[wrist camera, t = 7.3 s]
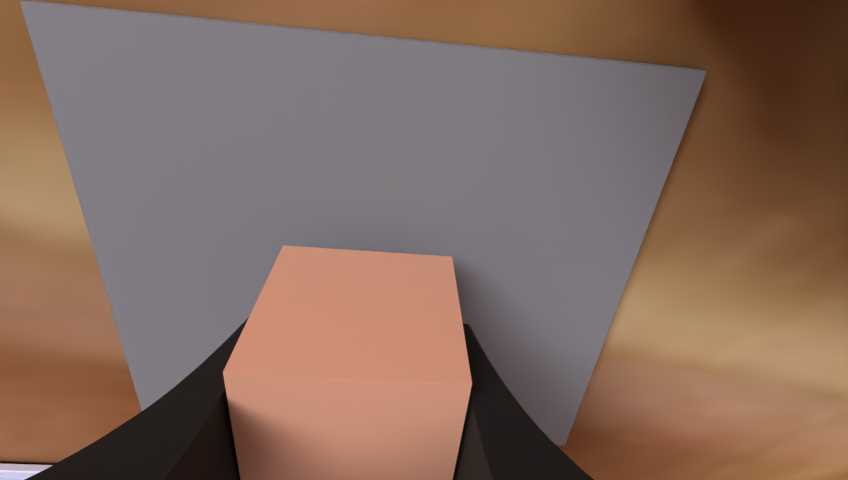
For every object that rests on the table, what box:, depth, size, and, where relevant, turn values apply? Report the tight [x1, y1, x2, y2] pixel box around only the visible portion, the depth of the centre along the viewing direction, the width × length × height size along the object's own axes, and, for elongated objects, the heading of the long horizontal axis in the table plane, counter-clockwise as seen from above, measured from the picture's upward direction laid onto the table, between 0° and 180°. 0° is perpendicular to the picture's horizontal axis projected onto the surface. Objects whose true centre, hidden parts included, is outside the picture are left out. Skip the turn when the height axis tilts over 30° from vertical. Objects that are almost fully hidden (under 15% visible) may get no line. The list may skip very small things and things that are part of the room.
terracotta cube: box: [223, 245, 472, 480], centre depth 13 cm, size 5×5×5 cm
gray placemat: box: [20, 1, 707, 445], centre depth 16 cm, size 18×16×1 cm
